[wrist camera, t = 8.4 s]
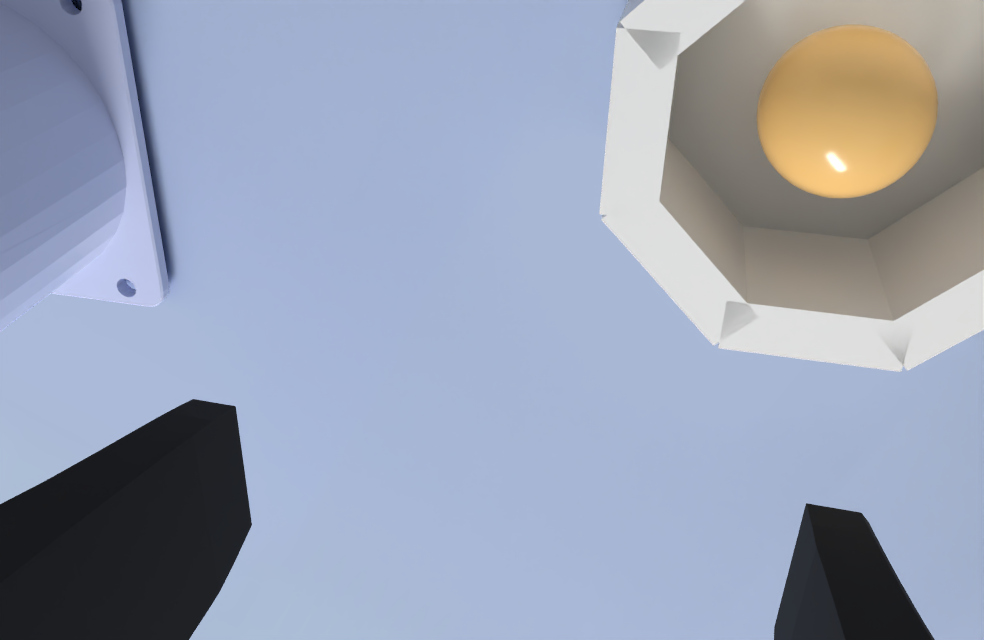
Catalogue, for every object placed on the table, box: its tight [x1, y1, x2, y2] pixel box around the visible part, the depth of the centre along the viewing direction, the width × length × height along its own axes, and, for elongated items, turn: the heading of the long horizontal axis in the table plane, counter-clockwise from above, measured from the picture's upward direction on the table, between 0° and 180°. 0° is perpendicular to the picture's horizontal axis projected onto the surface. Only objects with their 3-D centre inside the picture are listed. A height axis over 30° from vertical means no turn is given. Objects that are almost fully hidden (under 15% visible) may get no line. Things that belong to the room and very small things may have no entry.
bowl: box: [599, 0, 984, 372], centre depth 17 cm, size 8×8×4 cm
